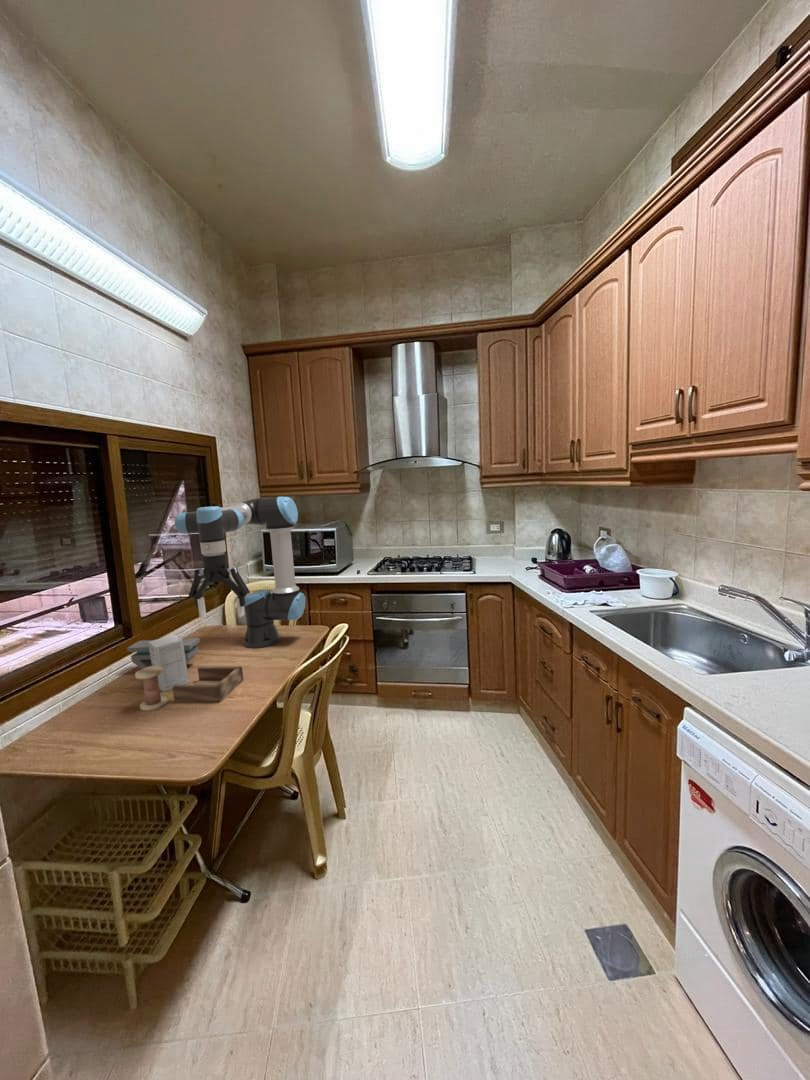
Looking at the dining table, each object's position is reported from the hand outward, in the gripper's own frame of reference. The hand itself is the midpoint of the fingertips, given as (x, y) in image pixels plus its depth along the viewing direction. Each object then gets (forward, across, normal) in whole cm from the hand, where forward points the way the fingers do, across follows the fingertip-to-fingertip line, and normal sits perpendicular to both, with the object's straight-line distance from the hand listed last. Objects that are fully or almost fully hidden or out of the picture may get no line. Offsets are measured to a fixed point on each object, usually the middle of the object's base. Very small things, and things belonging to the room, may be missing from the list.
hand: (222, 616), depth 150 cm
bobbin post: (+28, -24, -7) cm, 37 cm away
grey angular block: (+28, -38, +21) cm, 52 cm away
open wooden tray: (+28, -10, +3) cm, 30 cm away
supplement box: (+28, -28, +8) cm, 40 cm away
